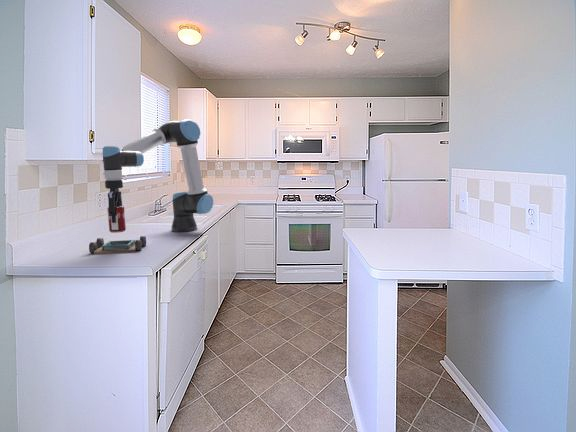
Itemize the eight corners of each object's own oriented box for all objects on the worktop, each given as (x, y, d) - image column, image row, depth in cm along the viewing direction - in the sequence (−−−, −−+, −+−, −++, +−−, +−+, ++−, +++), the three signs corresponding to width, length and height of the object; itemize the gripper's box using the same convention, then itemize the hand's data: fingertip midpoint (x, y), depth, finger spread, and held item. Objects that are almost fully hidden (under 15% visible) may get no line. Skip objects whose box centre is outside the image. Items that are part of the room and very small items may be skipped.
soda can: (119, 229, 191) (117, 205, 190) (129, 230, 188) (127, 205, 186) (106, 232, 185) (103, 206, 184) (115, 233, 181) (113, 207, 180)
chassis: (100, 247, 194) (99, 237, 193) (146, 244, 197) (146, 235, 196) (89, 254, 178) (88, 243, 177) (139, 251, 181) (138, 241, 181)
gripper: (111, 179, 192) (115, 225, 195) (98, 180, 173) (102, 232, 176) (127, 178, 194) (130, 224, 197) (116, 180, 174) (120, 231, 177)
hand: (117, 228), depth 186 cm, fingers closed on soda can, 7 cm apart
